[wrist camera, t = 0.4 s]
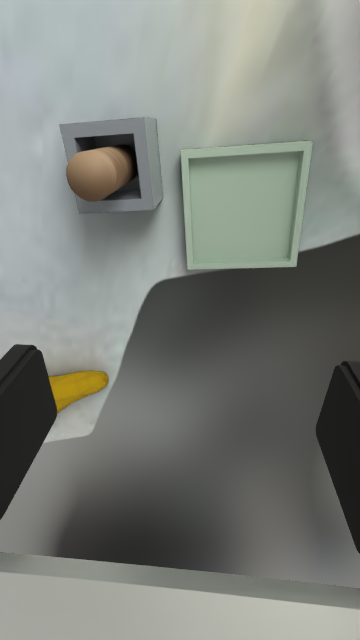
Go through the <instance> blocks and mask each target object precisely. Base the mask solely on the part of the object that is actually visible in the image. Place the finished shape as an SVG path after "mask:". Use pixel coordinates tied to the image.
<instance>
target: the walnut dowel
mask: <svg viewBox="0 0 360 640" xmlns="http://www.w3.org/2000/svg"><path fill="white" fill-rule="evenodd" d="M66 174H67V180H68V183H69V185H70V187H71V189H72V190H73V192H74V193H75V194H76V195H77V196H78V197H80V198H81V199H83V200H86V201H90V202H96V201H100V200H102V199H104V198H105V197H107V196H108V195H110V194H111V193H113V192H115V191H116V190H118V189H119V188H121V187H122V186H124V185H125V184H127V183H129V182H130V181H132V180H133V179H134V178H136V176H137V175H138V165H137V157H136V151H135V150H134V149H133V148H131V147H130V146H128V145H124V144H120V145H114V146H109V147H104V148H98V149H93V150H88V151H82V152H79V153H77V154H75V155H74V156H73V157H72V158H71V159H70V160H69V162H68V165H67V171H66Z"/></svg>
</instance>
